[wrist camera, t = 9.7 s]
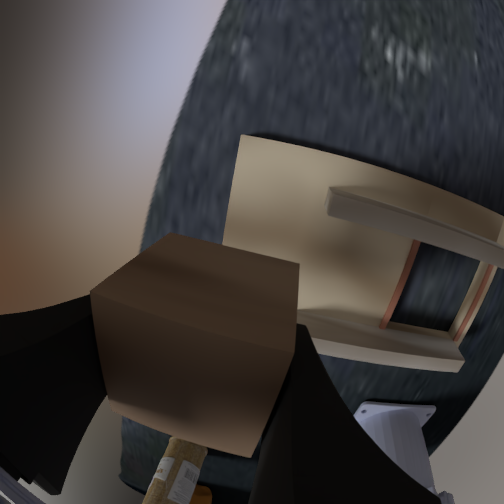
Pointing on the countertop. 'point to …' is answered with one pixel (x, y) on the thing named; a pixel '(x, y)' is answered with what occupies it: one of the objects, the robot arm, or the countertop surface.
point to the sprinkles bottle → (176, 473)
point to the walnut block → (197, 339)
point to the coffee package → (201, 495)
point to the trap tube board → (358, 247)
